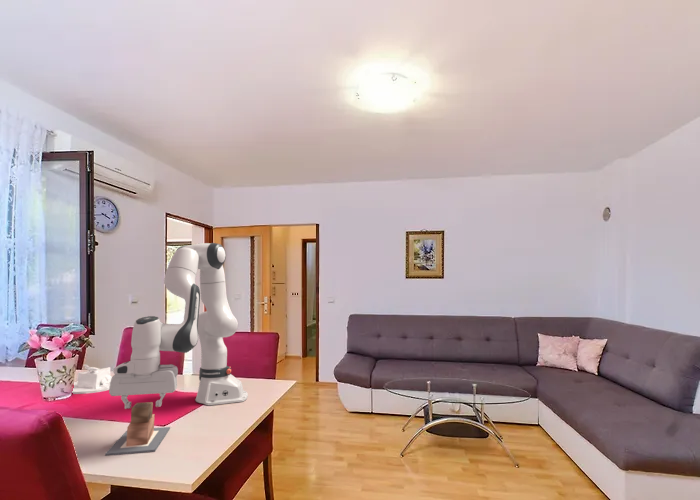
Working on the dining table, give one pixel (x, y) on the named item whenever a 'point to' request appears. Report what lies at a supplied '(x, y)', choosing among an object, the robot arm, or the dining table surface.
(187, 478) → the dining table surface
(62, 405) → the dining table surface
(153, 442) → the build mat
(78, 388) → the dish
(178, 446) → the dining table surface
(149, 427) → the terracotta block
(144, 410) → the walnut cube
